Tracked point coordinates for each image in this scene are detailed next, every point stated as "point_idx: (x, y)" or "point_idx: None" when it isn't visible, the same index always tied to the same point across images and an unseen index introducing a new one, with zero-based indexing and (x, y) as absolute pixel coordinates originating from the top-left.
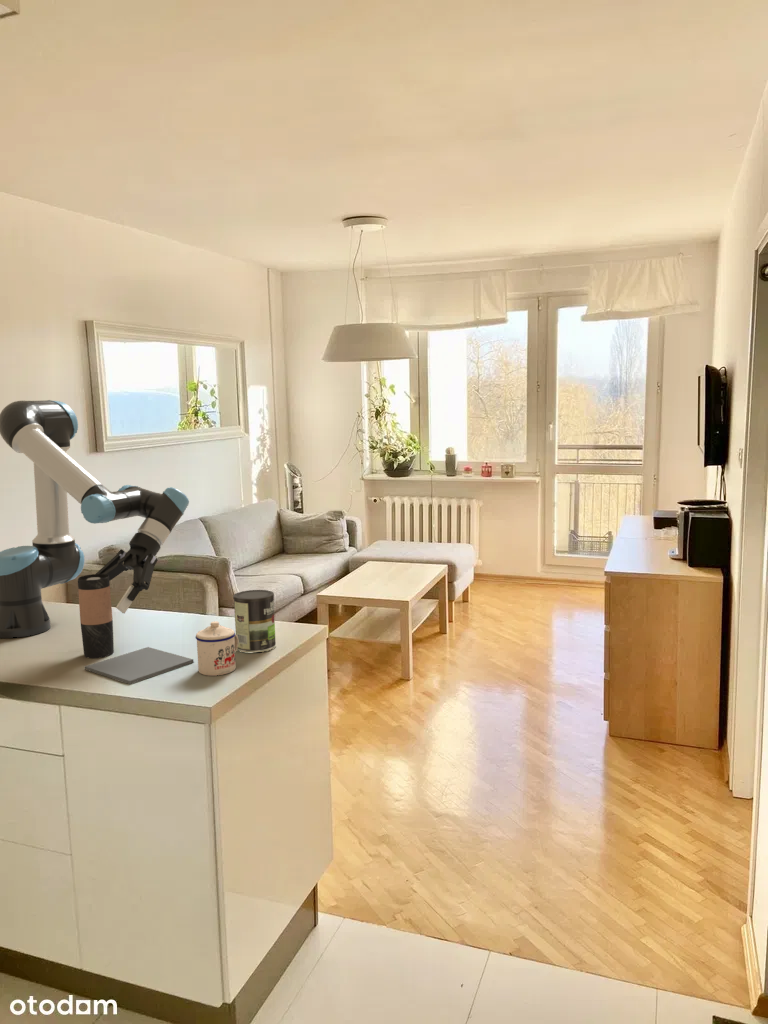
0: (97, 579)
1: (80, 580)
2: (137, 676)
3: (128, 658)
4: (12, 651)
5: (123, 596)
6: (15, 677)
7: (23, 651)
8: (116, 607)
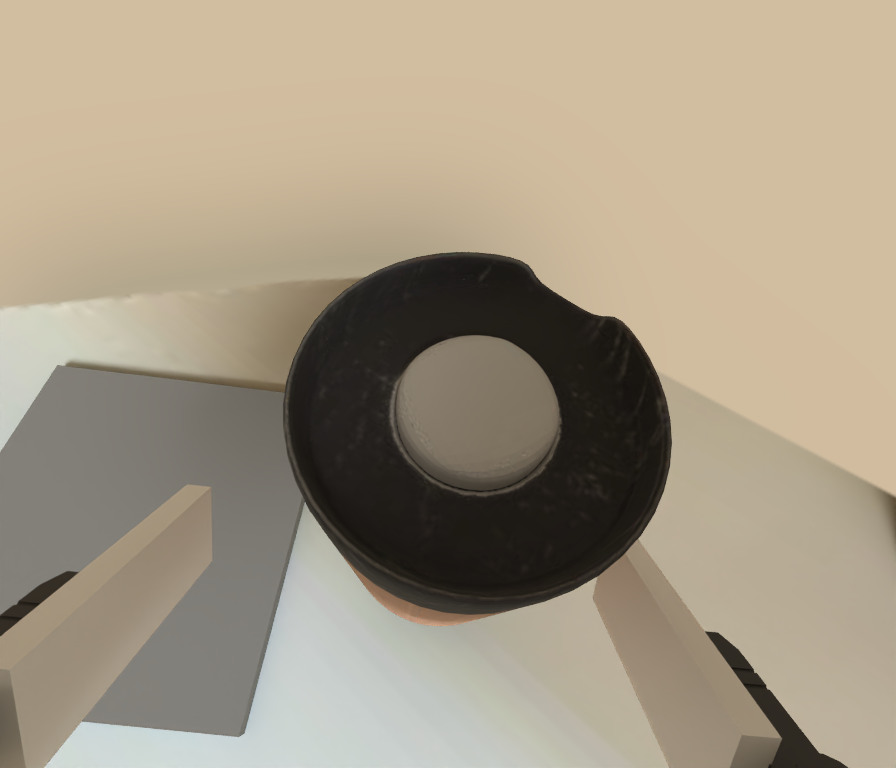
0: (315, 321)
1: (481, 255)
2: (50, 403)
3: (221, 538)
4: (734, 422)
5: (131, 551)
6: None
7: (706, 438)
8: (199, 486)
